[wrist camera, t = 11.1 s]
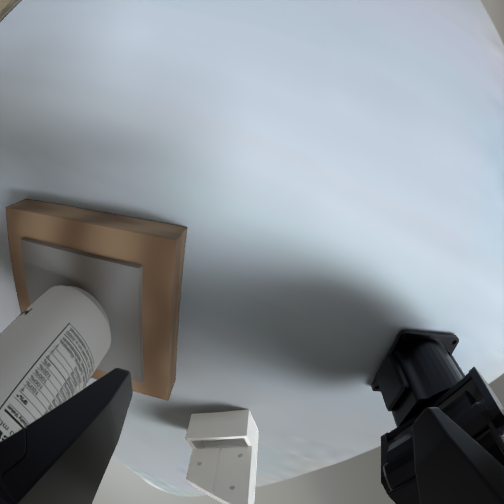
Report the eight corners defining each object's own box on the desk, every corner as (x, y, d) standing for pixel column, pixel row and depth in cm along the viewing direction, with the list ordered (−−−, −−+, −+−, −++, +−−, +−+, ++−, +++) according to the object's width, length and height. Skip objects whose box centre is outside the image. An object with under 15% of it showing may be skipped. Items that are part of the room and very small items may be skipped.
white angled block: (303, 444, 24) (253, 518, 18) (220, 416, 30) (169, 471, 24) (297, 423, 23) (240, 504, 17) (209, 394, 29) (152, 453, 22)
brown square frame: (187, 227, 20) (173, 243, 17) (175, 380, 25) (166, 405, 22) (26, 198, 19) (1, 209, 17) (44, 338, 25) (29, 356, 22)
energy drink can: (48, 266, 18) (-101, 407, 4) (120, 298, 19) (-12, 496, 5) (50, 330, 20) (-55, 465, 6) (113, 361, 21) (27, 527, 7)
